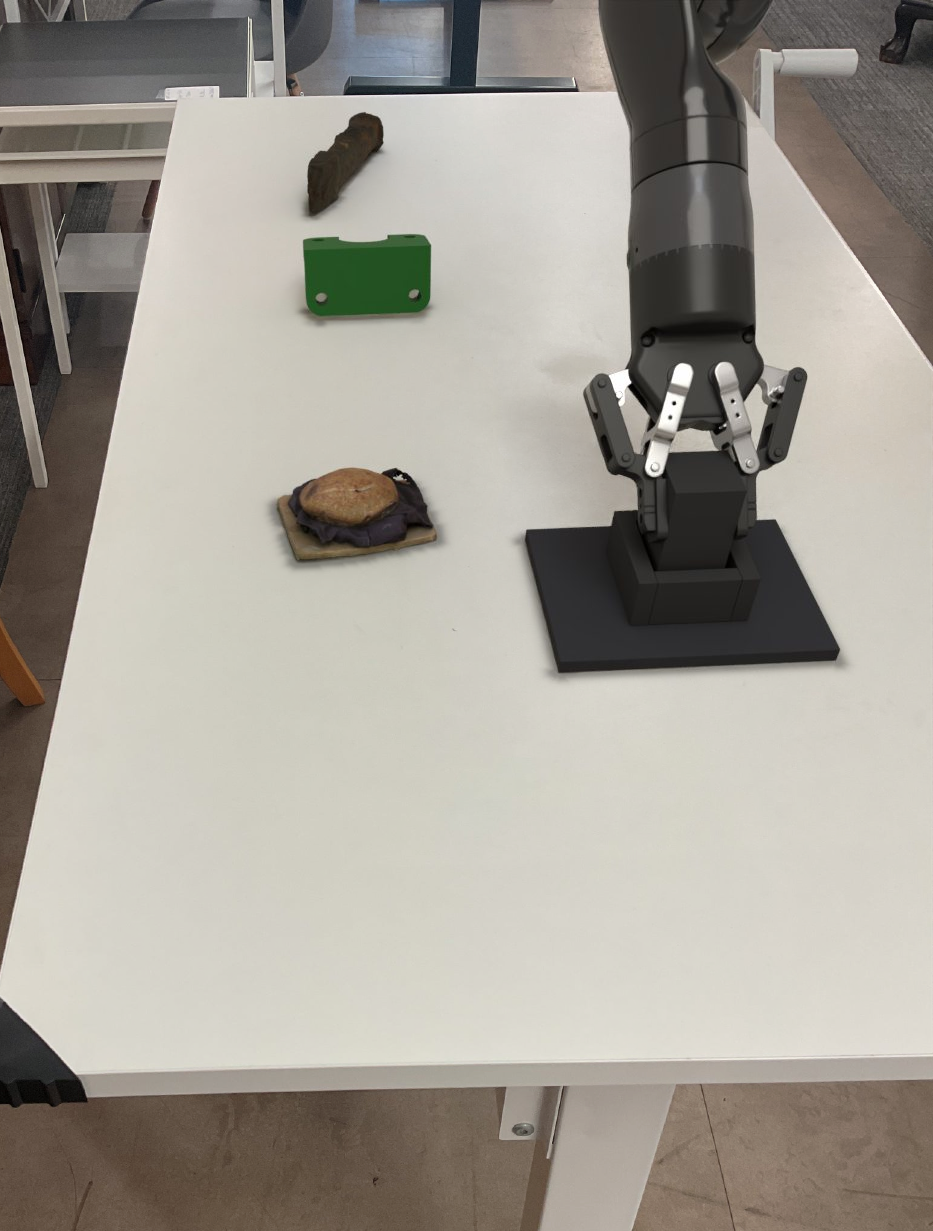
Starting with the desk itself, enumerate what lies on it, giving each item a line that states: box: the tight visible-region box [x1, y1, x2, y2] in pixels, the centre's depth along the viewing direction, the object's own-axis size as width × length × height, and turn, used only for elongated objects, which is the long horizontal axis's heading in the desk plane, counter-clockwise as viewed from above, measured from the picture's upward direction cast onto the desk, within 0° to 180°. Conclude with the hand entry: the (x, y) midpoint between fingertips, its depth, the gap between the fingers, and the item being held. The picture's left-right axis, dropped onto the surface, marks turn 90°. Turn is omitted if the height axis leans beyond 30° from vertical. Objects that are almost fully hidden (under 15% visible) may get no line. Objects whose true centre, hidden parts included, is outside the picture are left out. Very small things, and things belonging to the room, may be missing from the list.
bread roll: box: [276, 467, 438, 561], centre depth 85 cm, size 11×8×4 cm
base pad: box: [524, 509, 841, 674], centre depth 79 cm, size 18×14×4 cm
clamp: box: [302, 233, 432, 317], centre depth 107 cm, size 12×6×9 cm, turn 87°
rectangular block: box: [641, 450, 747, 572], centre depth 76 cm, size 4×4×8 cm
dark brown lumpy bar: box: [306, 111, 385, 214], centre depth 126 cm, size 19×4×5 cm, turn 159°
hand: (697, 538), depth 75 cm, fingers closed on rectangular block, 4 cm apart
